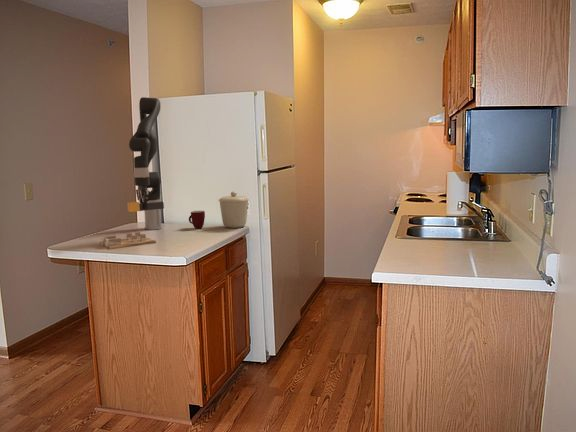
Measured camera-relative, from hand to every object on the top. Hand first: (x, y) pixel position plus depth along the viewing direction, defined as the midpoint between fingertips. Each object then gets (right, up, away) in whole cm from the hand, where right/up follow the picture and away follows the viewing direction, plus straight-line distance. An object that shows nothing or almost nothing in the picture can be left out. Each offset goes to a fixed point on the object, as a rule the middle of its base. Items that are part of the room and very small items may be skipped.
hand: (143, 208), depth 266 cm
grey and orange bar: (+2, -1, +1) cm, 2 cm away
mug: (+23, -11, +30) cm, 39 cm away
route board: (-4, -18, -12) cm, 22 cm away
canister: (+45, -10, +34) cm, 57 cm away
